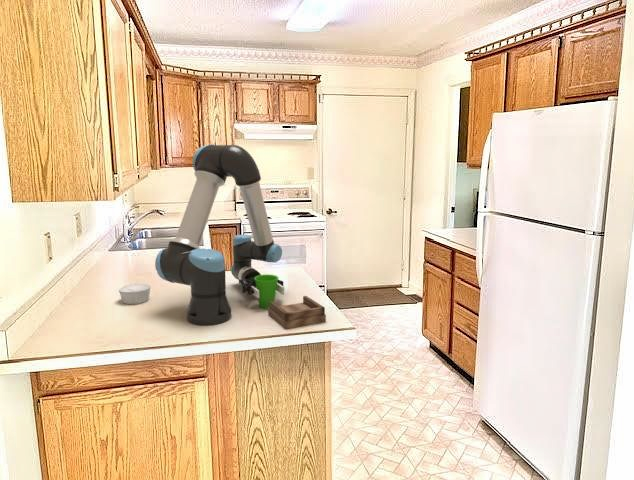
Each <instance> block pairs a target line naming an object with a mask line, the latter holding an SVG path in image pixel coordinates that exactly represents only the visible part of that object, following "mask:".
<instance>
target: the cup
mask: <svg viewBox="0 0 634 480" xmlns="http://www.w3.org/2000/svg"><path fill="white" fill-rule="evenodd" d="M254 280H255V282H256V289H258V290H259V298H257V299H258V303H259V306H260V308H262V309H268V308H269V301H273V302H275V300H276V299H275V298H276V294H277V293H276V292H277V290H276V287H277V280H279V276H277V275H275V274H267V273H265V274H261V275H258V276H256V277H254Z"/></svg>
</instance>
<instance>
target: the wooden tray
mask: <svg viewBox="0 0 634 480" xmlns="http://www.w3.org/2000/svg"><path fill="white" fill-rule="evenodd" d="M267 311H268V312H267V314H268V315H267V316H270V318H272V319H273V320H274V321H275V322H276V323H278V324H279V325H280V326H281V327H282V328H283V329H285V330H288V329H294V328H298V327H303V326H304V327H305V326H310V325H315V324H320V323H326V322H327V314H326V311H325V306H323V305H321V304H320V303H318V302H316V301H315V300H314V299H312V298H311V297H309V296H307V295H304V296H302V302H298V303H291V304H286V305H279V304H277V303H276V302H275V301H274V302H273V301H269V308H267Z"/></svg>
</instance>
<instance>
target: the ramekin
mask: <svg viewBox="0 0 634 480" xmlns="http://www.w3.org/2000/svg"><path fill="white" fill-rule="evenodd" d="M118 292H119V294H120V299H121V301H122V303H124V304H126V305H137V304H138V305H139V304H141V303H145V302H147V301H149V298H150V292H151V285H150V284H148V283H147V284H146V283H132V284H127V285H123V286H121V287H120V288H119V289H118Z"/></svg>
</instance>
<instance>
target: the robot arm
mask: <svg viewBox="0 0 634 480" xmlns="http://www.w3.org/2000/svg"><path fill="white" fill-rule="evenodd" d="M192 164H193V165H192V168H193V170H194V173H193V174H194V177H195V178H196V180H195V184H194V186H193V189H192V191H191V194H190V197H189V199H188V203H187V205H186V208H185V210H184V214H183V216H182V219H181V222H180V225H179V227H178V229H177V233H176V236H175V238H173V239H170V241H169V243H168V245H167V247H165V248H163V249H161V250H160V251H159V252H158V253H157V254H156V256H155V260H154V262H155V263H154V264H155V265H154V267H155V270H156V273H157V275H158V276H159V278H161V279H162V280H164V281H166V282H169V283H173V284H179V285H186V286H190V295H191V296H190V300H189V304H188V308H187V311H186V320H187V321H188V323H191V324H193V325H201V326H210V325H217V324H218V325H219V324H221V323H222V324H223V323H224V322H227V321H229V320H230V319H231V318H232V308H231V306H230V302H229V300H228V297H227V293H226V292H227V291H226V288H227V287H226V263H225V255H224V253H222V252H221V251H219V250H217V249H211V248H201V247H200V243H201V240H202V238H203V234H204V231H205V229H206V225H207V223H208V220H209V218H210V215H211V211H212V208H213V206H214V203H215V200H216V197H217V194H218V192H219V189H220V187H222V186H224V185H225V184H226V181H227V178H228V177H229V178H230V177H231V178H233V179H234V183H235V186H237V187H239V190H240V194H241V198H242V200H243V204H244V205H243V206H244V208H245V212H246V217H247V220H248V223H249V227H250V231H251V234H252V237H251V235H249V234H236V235H235V236H233V238H232V253H233V254H232V255H233V257H232V259H233V262H232V265H231V266H230V273H231V275H232V276H233V277H234V279H236V280H238V287H239V288H240V290H241V293H243V294H246V293H247V295H248V296H249V295H253V296H254V297H255V298H257V299H258V298H259V290H258V289H257V288H256V282H255V280H254V277H256V276H258V275H262V274H261V272H259V271H258V270H256V268H254V267H252V261H253V260H254V261H260V262H267V263H277V262H279V261H280V260H281V258H282V255H283V249H282V247H281V245H279V244H277V243H275V240H274V238H273V234H272V230H271V225H270V221H269V217H268V215H267V213H268V212H267V209H266V206H265V205H266V204H265V201H264V196H263V193H262V189H261V184H260V182H261V180H262V178H261V173H260V169H259V167H258V165H257V163H256V161H255V159H254V157H252V155H251V154H250V153H249V152H248V151H247V150H246V149H245V148H243V147H242V146H239V145H237V144H206V145H202V146H200V147H199V148H197V149H196V151H195V152H194V154H193V157H192ZM252 238H253V241H252ZM276 292H278V293H280V294H281V295H285V286H284V280H281V279H278V280H277V287H276Z"/></svg>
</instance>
